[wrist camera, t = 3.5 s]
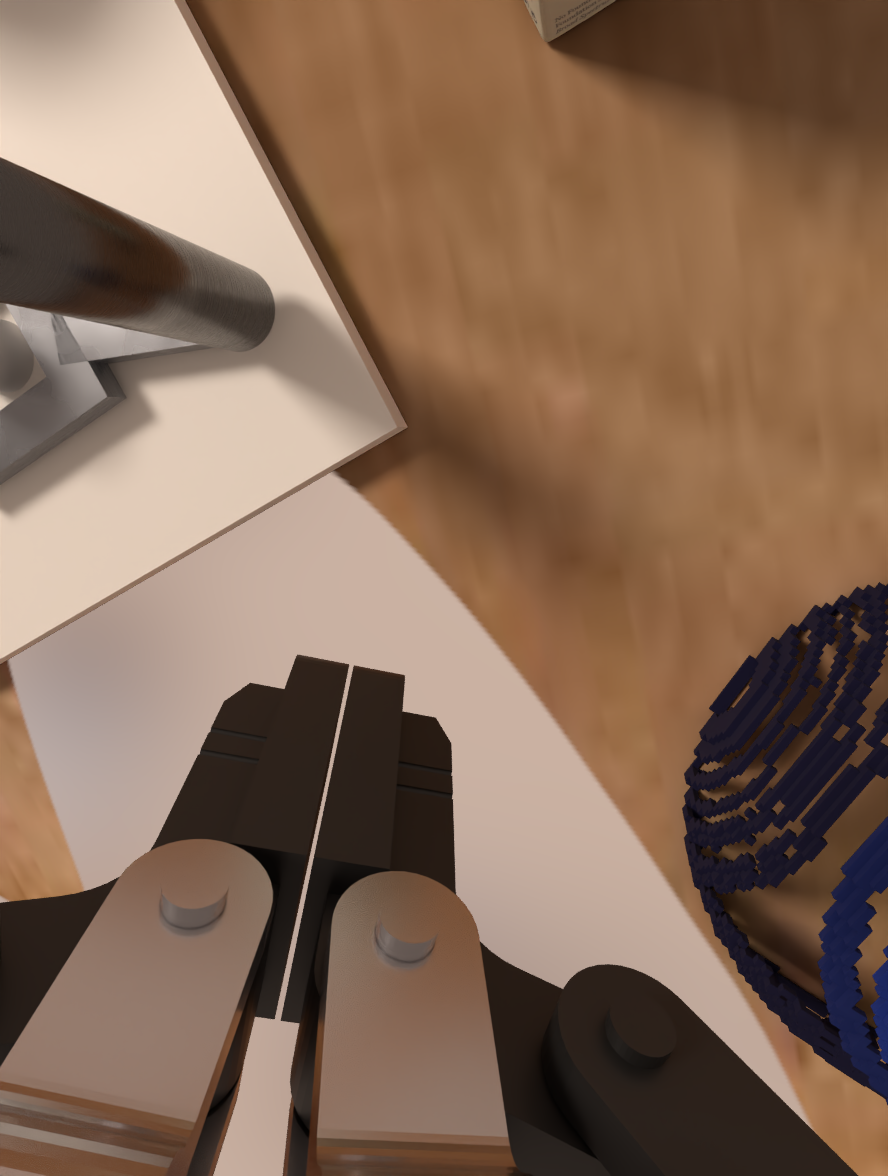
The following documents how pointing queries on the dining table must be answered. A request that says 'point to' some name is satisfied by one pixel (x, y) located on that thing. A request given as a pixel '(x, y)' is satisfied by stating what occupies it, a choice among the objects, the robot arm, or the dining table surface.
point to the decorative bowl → (867, 869)
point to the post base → (177, 381)
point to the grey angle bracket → (104, 305)
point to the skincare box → (561, 14)
